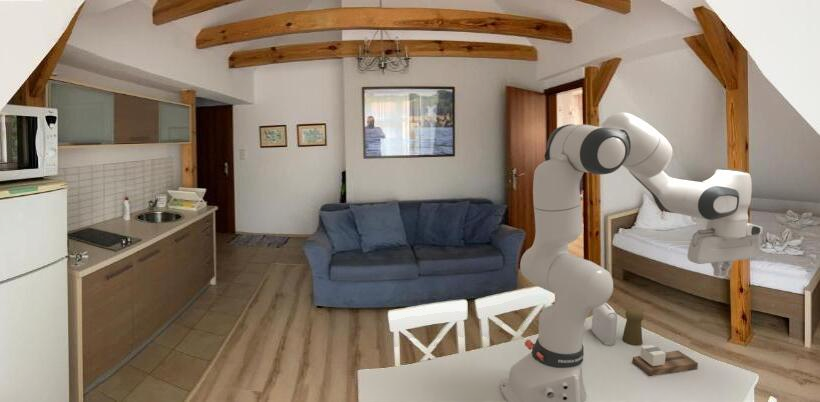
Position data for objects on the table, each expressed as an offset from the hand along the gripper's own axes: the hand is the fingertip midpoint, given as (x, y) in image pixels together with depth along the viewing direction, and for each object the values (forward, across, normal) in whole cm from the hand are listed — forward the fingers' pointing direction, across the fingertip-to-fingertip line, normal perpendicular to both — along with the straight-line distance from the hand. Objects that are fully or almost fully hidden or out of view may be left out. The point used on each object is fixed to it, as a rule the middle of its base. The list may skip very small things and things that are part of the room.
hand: (720, 275), depth 113 cm
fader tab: (+27, -15, +5) cm, 31 cm away
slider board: (+29, -11, +4) cm, 31 cm away
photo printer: (+29, -18, +23) cm, 41 cm away
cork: (+29, -10, +19) cm, 36 cm away
